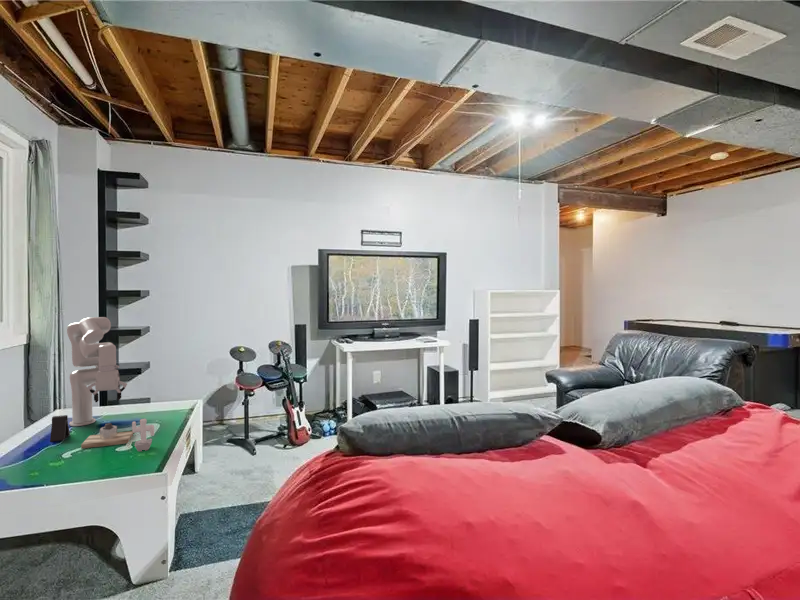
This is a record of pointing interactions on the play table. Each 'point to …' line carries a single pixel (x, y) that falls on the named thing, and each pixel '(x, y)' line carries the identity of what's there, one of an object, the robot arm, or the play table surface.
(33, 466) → the play table surface
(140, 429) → the figurine
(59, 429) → the phone stand
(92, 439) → the post stand
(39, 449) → the play table surface
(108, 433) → the steel ring
